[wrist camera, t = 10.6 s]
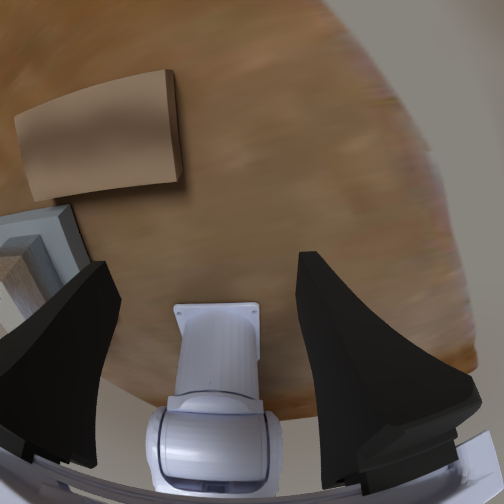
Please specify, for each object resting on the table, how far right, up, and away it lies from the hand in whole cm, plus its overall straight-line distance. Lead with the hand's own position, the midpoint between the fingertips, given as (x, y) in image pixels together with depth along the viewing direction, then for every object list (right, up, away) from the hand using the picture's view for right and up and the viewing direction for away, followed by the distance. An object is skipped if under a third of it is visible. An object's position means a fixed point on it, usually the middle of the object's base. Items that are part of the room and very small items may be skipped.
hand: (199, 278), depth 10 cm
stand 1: (-18, 0, +12) cm, 21 cm away
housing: (-18, -1, +11) cm, 21 cm away
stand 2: (-9, +9, +6) cm, 14 cm away
